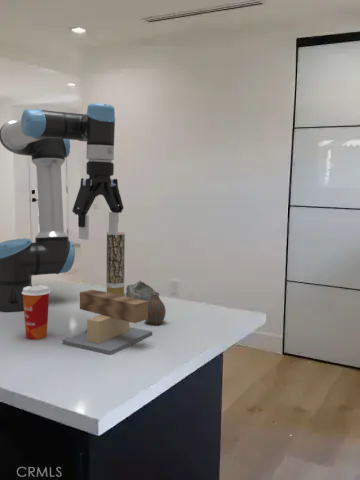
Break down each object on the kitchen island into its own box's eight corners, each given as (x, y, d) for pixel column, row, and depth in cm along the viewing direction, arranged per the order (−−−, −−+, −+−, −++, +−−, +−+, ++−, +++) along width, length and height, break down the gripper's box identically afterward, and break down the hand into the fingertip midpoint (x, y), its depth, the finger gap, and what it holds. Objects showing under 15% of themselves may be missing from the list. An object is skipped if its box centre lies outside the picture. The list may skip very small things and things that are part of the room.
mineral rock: (158, 304, 178) (158, 277, 177) (163, 311, 168) (163, 283, 167) (122, 305, 176) (123, 278, 175) (125, 313, 165) (125, 283, 164)
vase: (138, 322, 153) (139, 295, 153) (154, 318, 159) (155, 292, 158) (154, 327, 149) (154, 299, 148) (169, 323, 154) (170, 295, 153)
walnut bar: (79, 309, 141) (79, 292, 140) (92, 306, 145) (92, 289, 144) (135, 323, 128) (135, 304, 127) (147, 319, 131) (148, 301, 131)
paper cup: (20, 334, 139) (20, 285, 138) (48, 331, 142) (48, 284, 141) (23, 342, 132) (23, 291, 131) (52, 339, 135) (52, 289, 134)
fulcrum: (62, 343, 131) (62, 318, 131) (107, 326, 149) (107, 303, 148) (110, 354, 124) (110, 327, 123) (152, 334, 141) (152, 311, 140)
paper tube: (120, 299, 185) (121, 233, 182) (103, 297, 186) (104, 232, 184) (126, 295, 192) (126, 232, 189) (109, 294, 193) (110, 231, 190)
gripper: (81, 159, 123) (80, 242, 126) (136, 163, 145) (134, 233, 148) (59, 158, 126) (58, 239, 129) (115, 162, 148) (114, 231, 151)
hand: (99, 236), depth 139 cm, fingers open, 13 cm apart
